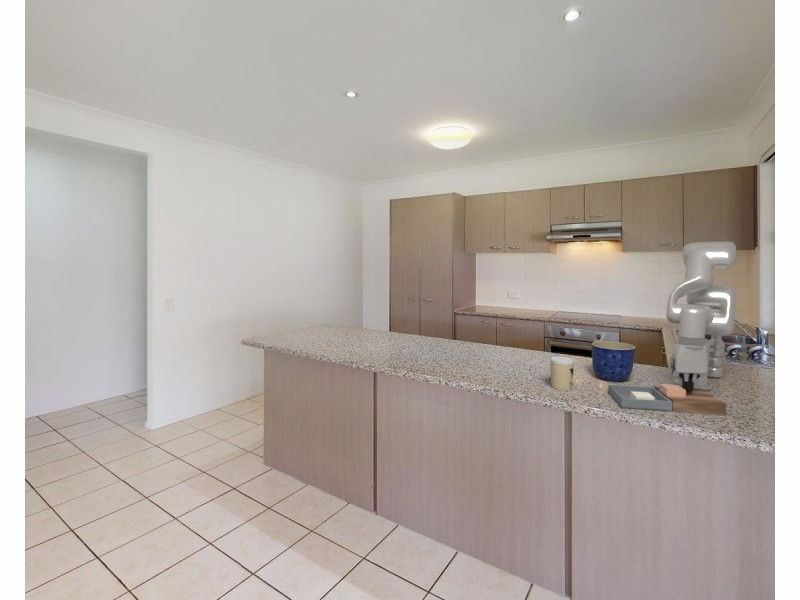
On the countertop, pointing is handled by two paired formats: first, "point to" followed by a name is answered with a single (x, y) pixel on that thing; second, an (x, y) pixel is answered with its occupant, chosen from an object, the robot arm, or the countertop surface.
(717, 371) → the plastic bottle
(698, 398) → the walnut board
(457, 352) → the countertop surface
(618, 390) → the tray
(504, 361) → the countertop surface
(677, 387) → the terracotta tile
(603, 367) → the planter
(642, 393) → the cream tile
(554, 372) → the coffee cup
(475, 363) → the countertop surface
